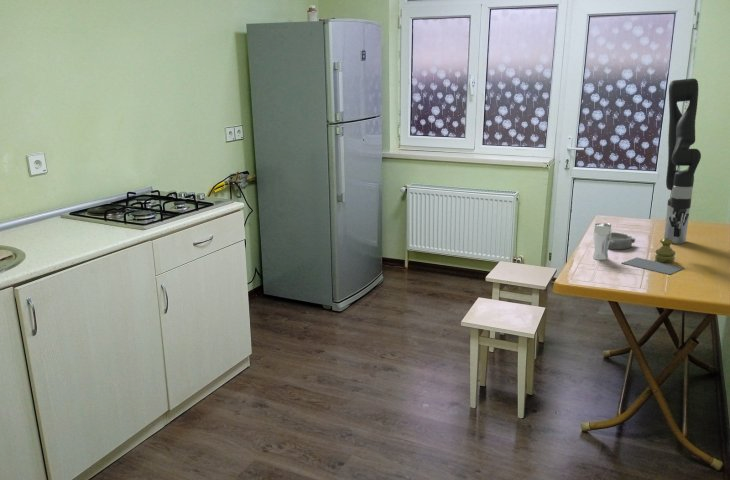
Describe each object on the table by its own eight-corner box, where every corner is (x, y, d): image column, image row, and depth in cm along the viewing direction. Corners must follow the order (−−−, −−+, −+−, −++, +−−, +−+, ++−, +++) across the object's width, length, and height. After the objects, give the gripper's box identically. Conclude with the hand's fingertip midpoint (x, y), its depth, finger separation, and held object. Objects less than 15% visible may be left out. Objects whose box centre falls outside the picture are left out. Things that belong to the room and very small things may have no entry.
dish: (613, 251, 264) (613, 241, 262) (593, 244, 277) (594, 233, 275) (640, 248, 267) (641, 237, 266) (619, 241, 280) (620, 230, 279)
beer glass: (596, 255, 259) (598, 222, 255) (611, 258, 254) (614, 224, 250) (589, 258, 254) (591, 224, 250) (604, 261, 249) (607, 227, 245)
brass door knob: (665, 264, 243) (668, 241, 240) (650, 260, 249) (653, 237, 247) (678, 262, 246) (681, 239, 243) (663, 257, 252) (665, 235, 250)
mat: (636, 258, 253) (636, 257, 253) (684, 268, 237) (684, 267, 237) (621, 263, 246) (621, 262, 246) (669, 274, 230) (669, 274, 230)
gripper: (680, 193, 253) (675, 232, 257) (664, 197, 245) (660, 237, 249) (698, 195, 247) (693, 235, 251) (682, 199, 239) (678, 240, 244)
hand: (676, 236), depth 250 cm, fingers closed
